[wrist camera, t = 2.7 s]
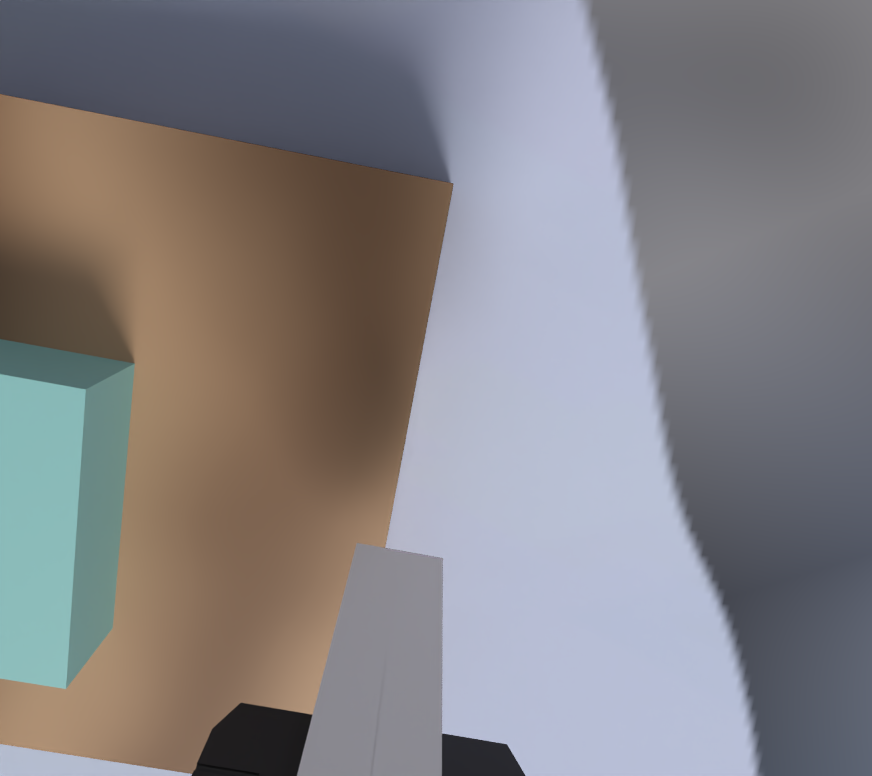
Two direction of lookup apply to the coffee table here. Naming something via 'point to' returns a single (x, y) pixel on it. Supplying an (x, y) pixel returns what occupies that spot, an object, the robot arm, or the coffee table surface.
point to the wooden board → (217, 402)
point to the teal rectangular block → (59, 507)
